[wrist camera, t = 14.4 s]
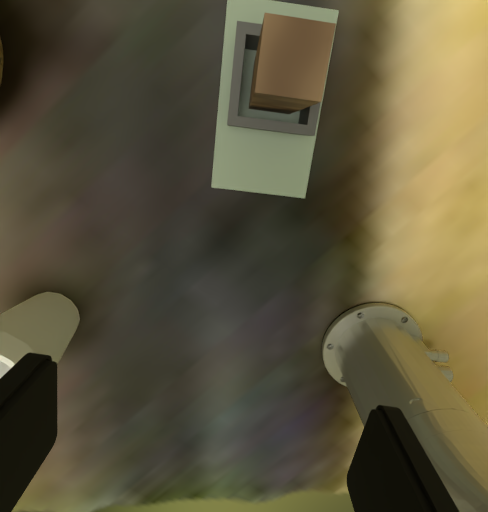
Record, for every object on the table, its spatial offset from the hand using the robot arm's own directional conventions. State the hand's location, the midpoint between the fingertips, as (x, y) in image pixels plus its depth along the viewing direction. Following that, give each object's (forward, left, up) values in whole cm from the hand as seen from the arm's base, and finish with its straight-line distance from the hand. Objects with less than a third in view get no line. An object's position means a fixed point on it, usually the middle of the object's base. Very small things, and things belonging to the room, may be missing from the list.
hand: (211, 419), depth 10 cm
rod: (-3, -12, -28) cm, 31 cm away
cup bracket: (-3, -11, -29) cm, 31 cm away
